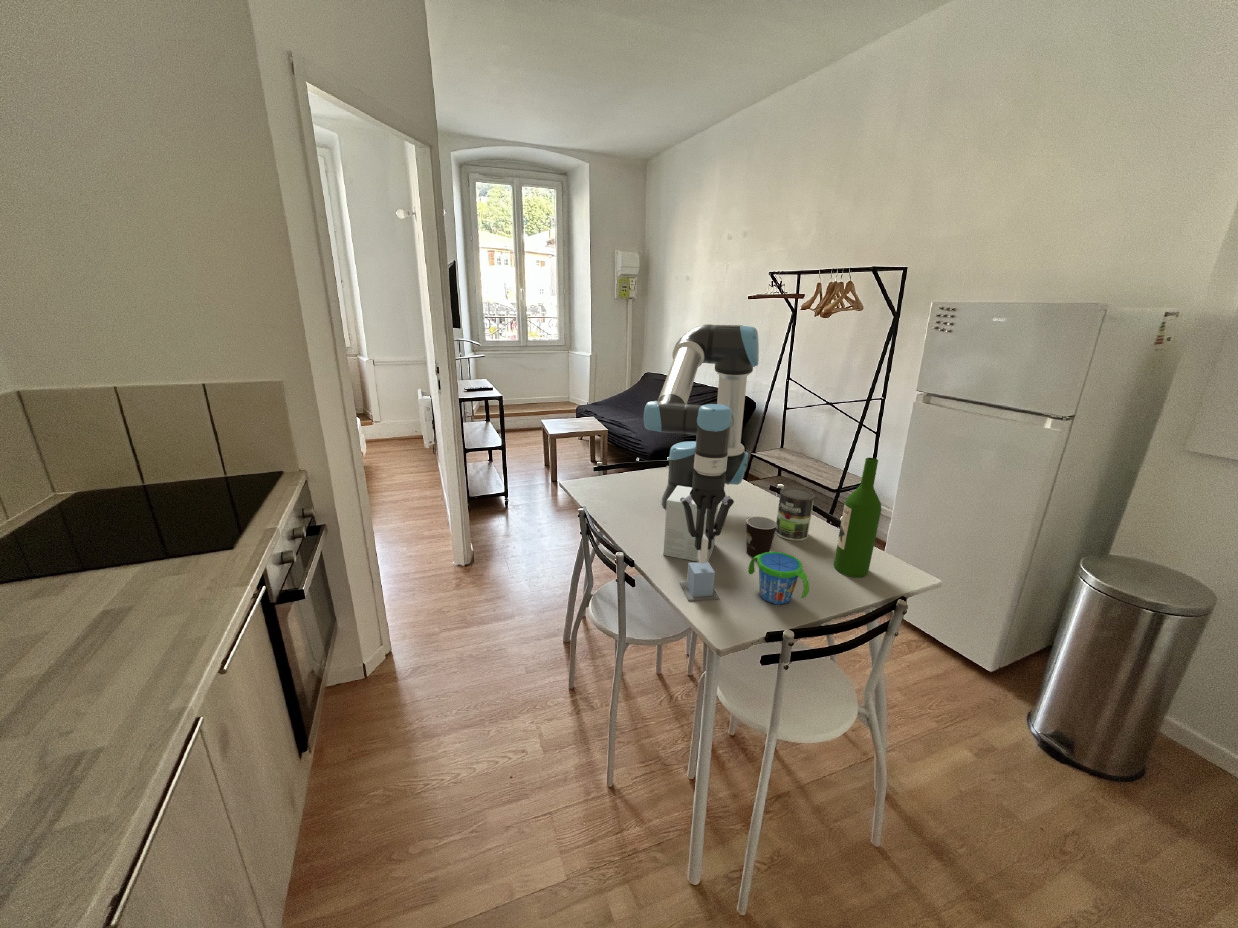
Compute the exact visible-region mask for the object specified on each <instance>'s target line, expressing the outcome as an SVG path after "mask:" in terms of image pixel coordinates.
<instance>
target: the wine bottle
mask: <svg viewBox="0 0 1238 928" xmlns="http://www.w3.org/2000/svg"><path fill="white" fill-rule="evenodd" d="M878 463H879V460H878V458H874V457H866V458H865V460H864V465H863V471H862V475H861V480H860V484H859V486H857V488H856V489H854V491H853V492H852V493H851V494H849V495H848V496H847V497H846V499H845V502H844V505H843V510H842V511H843V512H842V515H841V517H842V518H841V522H840V527H839V533H838V537H837V538H838V539H837V545H836V548H835V549H836V550H835V555H834V560H833V567H834V569H835V570H836V572H838V573H840V574H841V575H844V576H847V577H852V578H865V577H866V576H867V575H868V574H869V569H870V567H871V566H870V565H871V561H872V558H873V557H872V556H873V551H874V547H875V543H876V538H877V537H876V536H877V534H878V533H877V532H878V527H879V523H880V519H881V514H882V502H881V500H880V498H879V497H878V496H879V495H878V494H877V492H876V490H875V487H874V485H875V480H876V475H877V470H878Z"/></svg>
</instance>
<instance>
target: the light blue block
mask: <svg viewBox="0 0 1238 928" xmlns="http://www.w3.org/2000/svg"><path fill="white" fill-rule="evenodd" d="M687 564H688V565H687V567H688V568H687V576H686V577H687V578H686V582H687V587H688V589H689V591H690V593H691V595H692V597H698V596H713V588H714V586H715V585H714V584H715V574H716V573H715V571H714V568H713V567H712V566H711V564H710V563H709V561H708V562H706V563H700V562H698V561H695V562H688V563H687Z"/></svg>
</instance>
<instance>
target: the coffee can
mask: <svg viewBox="0 0 1238 928" xmlns="http://www.w3.org/2000/svg"><path fill="white" fill-rule="evenodd" d="M815 496H816V495H815V493H813V492H812V491H809V490H807V489H805V488H804V489H803V488H799V487H784V488H781V489H780V490H779V500H778V507H777V514H776V515H777V516H776V521H775V522H776V523H777V527H776V531H775V534H776V535H777V537H780V538H781V539H782V538H783V539H785V540H788V541H793V542H795V541H796V542H799V541H801V542H803V541H805V540H807V539H808V537H809V530H810V524H811V518H812V513H813V506H814V501H815Z"/></svg>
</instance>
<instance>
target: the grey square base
mask: <svg viewBox="0 0 1238 928" xmlns="http://www.w3.org/2000/svg"><path fill="white" fill-rule="evenodd" d="M679 585H680V586H681V589H682V591H683V594H684V596H685V597H686V600H687V602H695V601H697V602H698V601H711V600H715V601H716V600H720V596H719V594H718V592H717V591H716V590H715V588H714V587H713V596H698V597H692V595H691V593H690V591H689V589H688V587H687V581H683V582H681V581H680V582H679Z"/></svg>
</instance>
